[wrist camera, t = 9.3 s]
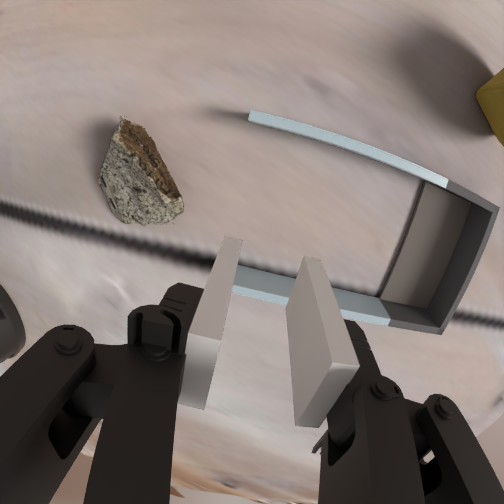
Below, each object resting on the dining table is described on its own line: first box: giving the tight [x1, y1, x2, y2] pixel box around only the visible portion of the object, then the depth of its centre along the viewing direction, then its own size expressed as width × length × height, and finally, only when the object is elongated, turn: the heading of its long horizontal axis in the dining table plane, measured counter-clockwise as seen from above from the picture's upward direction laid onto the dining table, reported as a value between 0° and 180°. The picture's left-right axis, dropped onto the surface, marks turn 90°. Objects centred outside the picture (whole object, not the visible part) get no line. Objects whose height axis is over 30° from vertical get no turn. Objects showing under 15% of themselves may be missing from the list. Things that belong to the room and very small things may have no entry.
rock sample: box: [98, 115, 184, 226], centre depth 24 cm, size 10×8×9 cm
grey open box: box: [379, 180, 500, 335], centre depth 25 cm, size 8×15×4 cm, turn 166°
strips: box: [231, 110, 448, 326], centre depth 25 cm, size 17×15×4 cm
